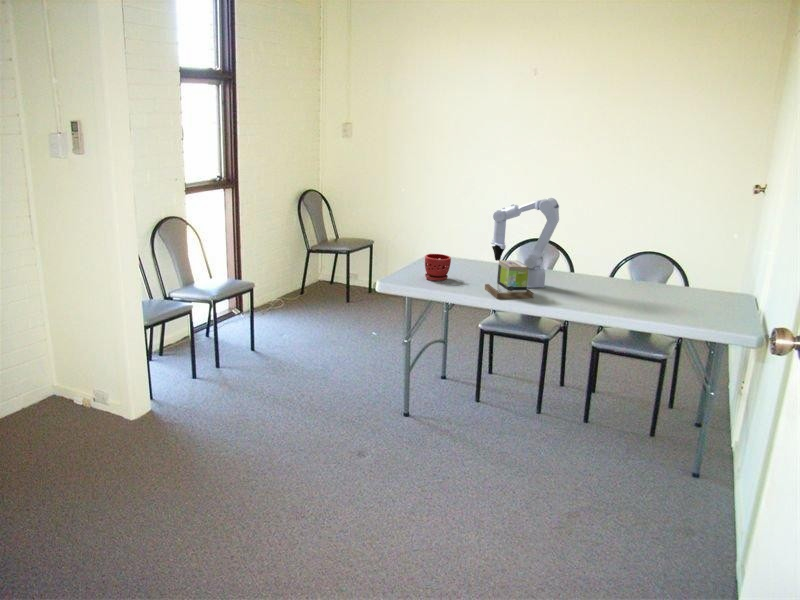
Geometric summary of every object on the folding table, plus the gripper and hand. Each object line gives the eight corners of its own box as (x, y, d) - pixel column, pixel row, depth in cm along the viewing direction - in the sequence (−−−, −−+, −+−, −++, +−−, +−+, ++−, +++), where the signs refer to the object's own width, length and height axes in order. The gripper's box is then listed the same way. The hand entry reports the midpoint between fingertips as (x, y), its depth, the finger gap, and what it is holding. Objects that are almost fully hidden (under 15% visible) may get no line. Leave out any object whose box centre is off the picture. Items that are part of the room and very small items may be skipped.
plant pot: (426, 282, 336) (427, 258, 333) (422, 276, 349) (423, 253, 346) (452, 282, 338) (453, 258, 335) (447, 275, 351) (448, 253, 347)
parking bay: (518, 288, 330) (519, 283, 329) (532, 297, 313) (533, 292, 313) (484, 289, 326) (485, 284, 326) (496, 298, 310) (497, 293, 309)
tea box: (526, 297, 314) (529, 266, 310) (506, 297, 312) (508, 266, 308) (515, 289, 328) (517, 259, 325) (495, 289, 327) (497, 259, 323)
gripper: (487, 231, 344) (485, 257, 348) (496, 236, 331) (494, 263, 334) (500, 231, 346) (498, 257, 349) (510, 236, 332) (508, 263, 336)
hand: (497, 260), depth 342 cm, fingers closed
